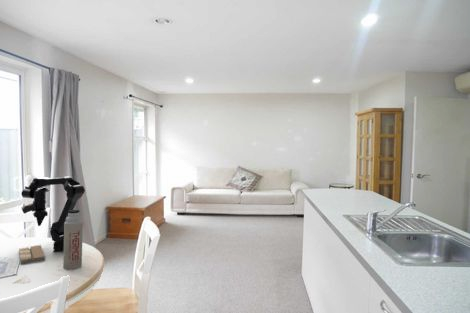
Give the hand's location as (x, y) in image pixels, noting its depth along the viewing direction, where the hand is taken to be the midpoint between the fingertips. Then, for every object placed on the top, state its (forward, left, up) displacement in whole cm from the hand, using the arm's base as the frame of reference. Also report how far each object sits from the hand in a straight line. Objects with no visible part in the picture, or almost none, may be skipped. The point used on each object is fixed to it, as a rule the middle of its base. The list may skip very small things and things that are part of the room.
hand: (39, 225), depth 169 cm
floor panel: (-2, +16, -12) cm, 20 cm away
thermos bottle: (-26, +34, -12) cm, 45 cm away
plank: (+1, +17, -11) cm, 20 cm away
